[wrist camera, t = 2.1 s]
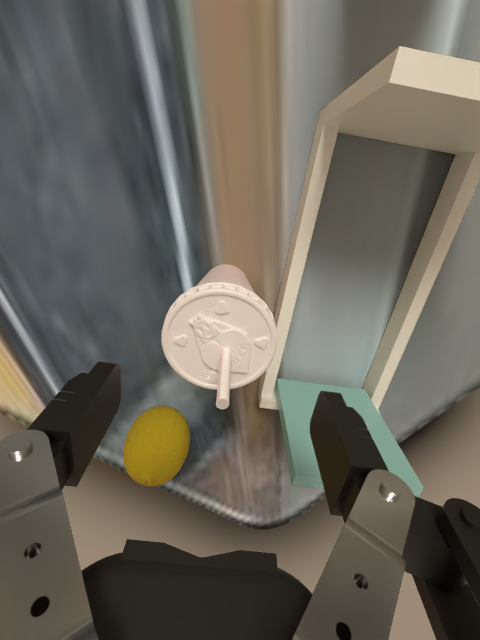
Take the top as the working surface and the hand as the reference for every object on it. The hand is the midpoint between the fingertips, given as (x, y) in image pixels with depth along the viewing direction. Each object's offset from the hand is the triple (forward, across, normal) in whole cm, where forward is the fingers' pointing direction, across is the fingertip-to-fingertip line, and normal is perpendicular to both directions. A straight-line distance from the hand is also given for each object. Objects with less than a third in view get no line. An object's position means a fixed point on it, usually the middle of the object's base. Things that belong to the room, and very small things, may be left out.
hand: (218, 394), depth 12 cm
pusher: (+13, -10, +9) cm, 19 cm away
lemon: (+14, +4, +14) cm, 21 cm away
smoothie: (+14, 0, 0) cm, 14 cm away
